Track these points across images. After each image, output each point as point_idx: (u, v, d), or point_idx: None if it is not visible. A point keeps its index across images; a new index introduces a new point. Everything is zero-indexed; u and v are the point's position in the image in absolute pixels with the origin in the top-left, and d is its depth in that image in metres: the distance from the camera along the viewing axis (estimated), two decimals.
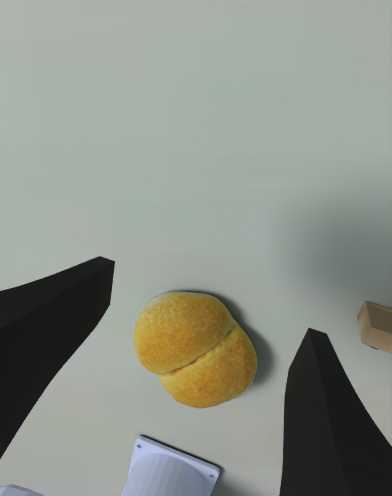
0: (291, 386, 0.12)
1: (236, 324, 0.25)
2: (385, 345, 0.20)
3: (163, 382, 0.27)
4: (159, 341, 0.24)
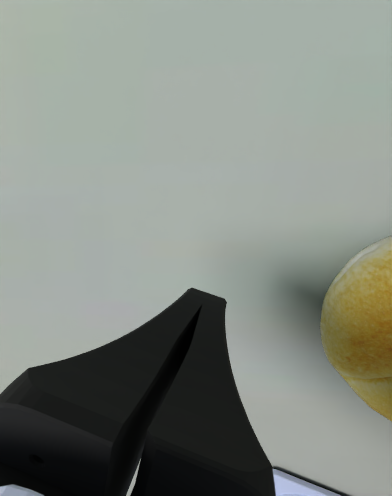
0: None
1: None
2: None
3: (373, 392, 0.16)
4: None
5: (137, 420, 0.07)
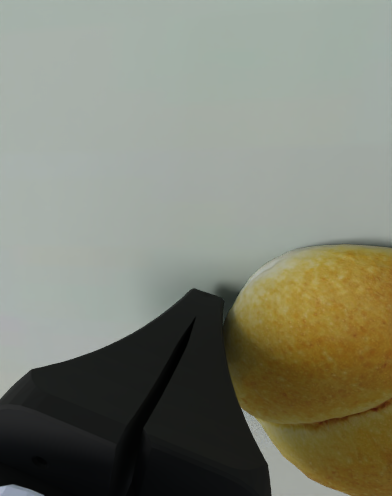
0: None
1: None
2: None
3: (280, 438, 0.13)
4: (308, 359, 0.10)
5: (140, 421, 0.07)
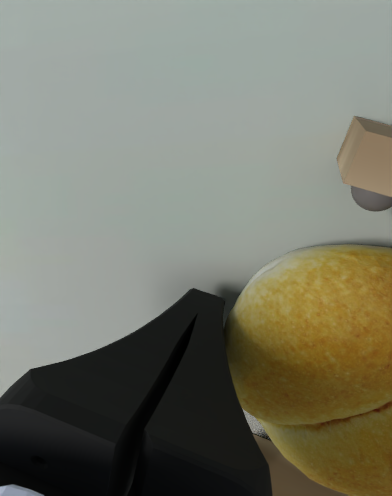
0: None
1: None
2: None
3: (281, 439, 0.13)
4: (310, 359, 0.10)
5: (139, 421, 0.07)
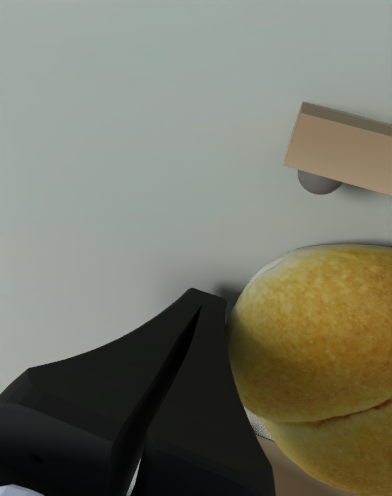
0: None
1: None
2: (336, 164, 0.08)
3: (282, 437, 0.13)
4: (311, 357, 0.10)
5: (137, 420, 0.07)
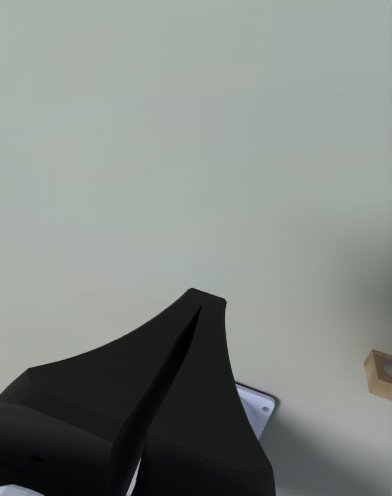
0: None
1: None
2: None
3: None
4: None
5: (137, 420, 0.07)
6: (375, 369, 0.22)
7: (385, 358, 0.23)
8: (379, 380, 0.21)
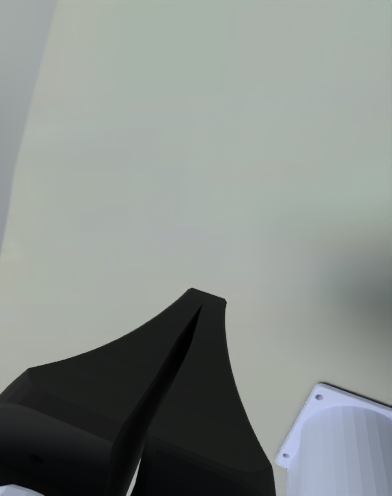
0: None
1: None
2: None
3: None
4: None
5: (137, 420, 0.07)
6: None
7: None
8: None
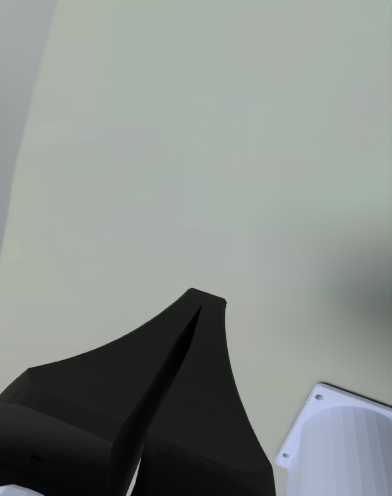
0: None
1: None
2: None
3: None
4: None
5: (137, 420, 0.07)
6: None
7: None
8: None
